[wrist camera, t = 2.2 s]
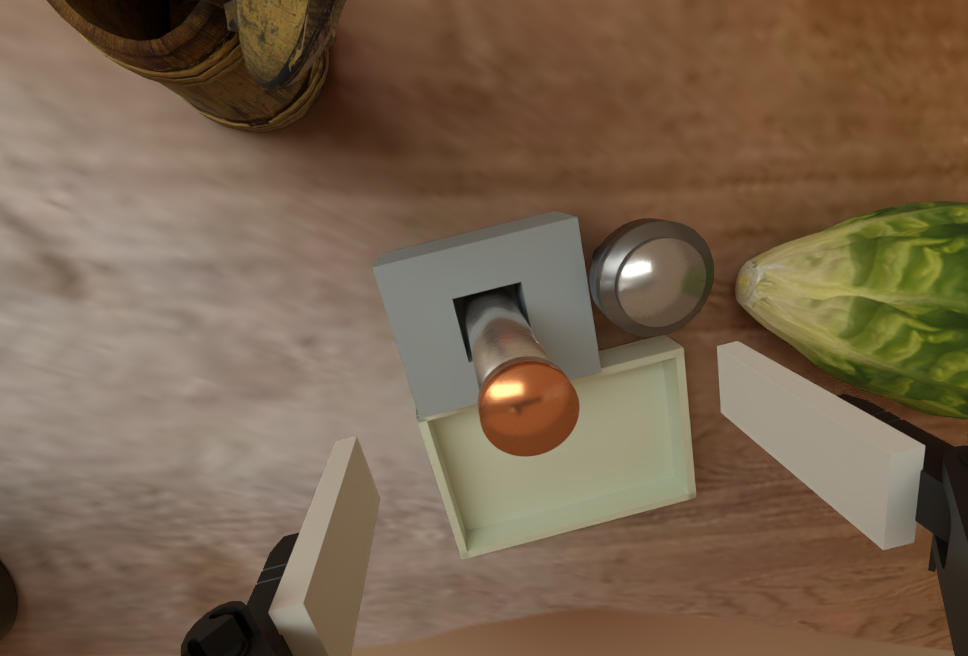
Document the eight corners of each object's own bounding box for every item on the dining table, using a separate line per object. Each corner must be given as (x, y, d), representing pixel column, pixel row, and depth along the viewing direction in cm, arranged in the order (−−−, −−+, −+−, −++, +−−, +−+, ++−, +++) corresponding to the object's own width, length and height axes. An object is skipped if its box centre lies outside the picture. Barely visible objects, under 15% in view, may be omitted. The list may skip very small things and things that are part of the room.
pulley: (569, 310, 33) (612, 352, 25) (554, 223, 31) (595, 239, 23) (654, 289, 33) (723, 324, 25) (645, 200, 31) (717, 209, 23)
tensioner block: (421, 384, 34) (420, 418, 29) (381, 253, 30) (372, 267, 26) (578, 344, 34) (601, 372, 29) (555, 210, 31) (577, 216, 26)
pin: (466, 337, 32) (491, 466, 18) (453, 286, 31) (469, 381, 16) (519, 324, 32) (586, 442, 18) (508, 272, 31) (570, 355, 17)
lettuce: (720, 187, 36) (832, 147, 23) (1037, 224, 34) (1352, 204, 21) (684, 361, 38) (768, 415, 25) (980, 403, 37) (1233, 484, 24)
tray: (459, 533, 38) (461, 559, 36) (417, 397, 34) (415, 415, 31) (678, 475, 39) (696, 497, 36) (664, 334, 34) (683, 347, 32)
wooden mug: (387, 171, 29) (321, 164, 12) (155, 106, 27) (-341, -17, 10) (418, 14, 26) (391, -278, 9) (165, -73, 24) (-484, -674, 7)
